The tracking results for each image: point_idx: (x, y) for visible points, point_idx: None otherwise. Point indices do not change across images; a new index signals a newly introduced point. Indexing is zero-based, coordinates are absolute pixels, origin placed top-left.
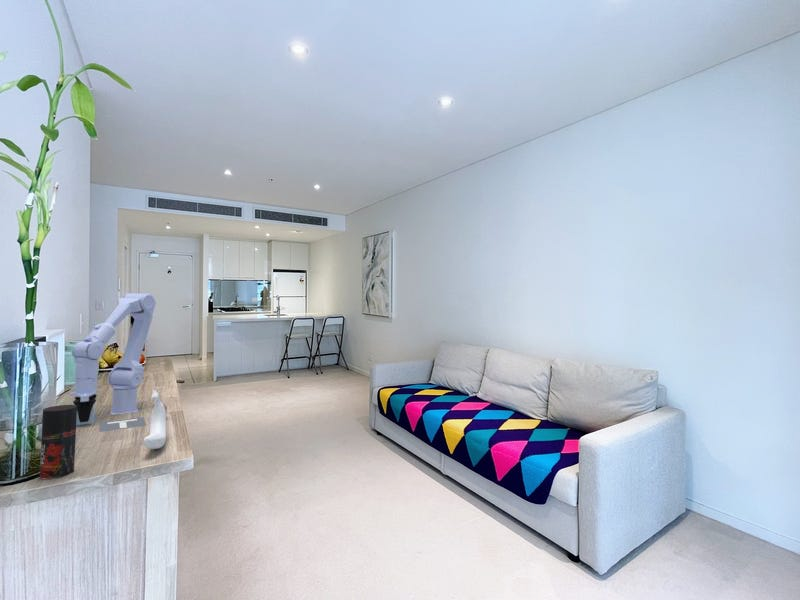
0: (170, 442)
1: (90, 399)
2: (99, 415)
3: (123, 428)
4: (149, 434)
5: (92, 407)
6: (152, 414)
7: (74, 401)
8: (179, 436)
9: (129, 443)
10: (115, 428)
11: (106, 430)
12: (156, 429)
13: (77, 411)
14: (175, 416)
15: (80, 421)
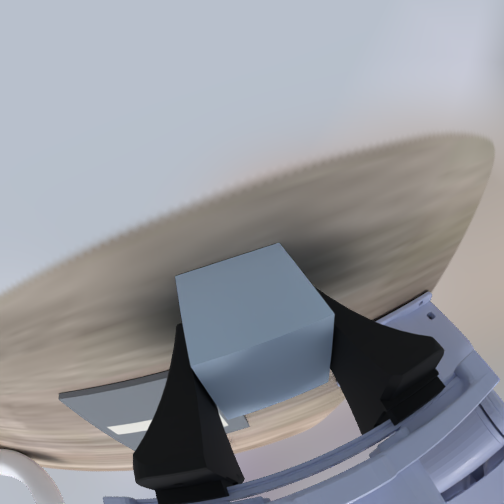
0: (37, 461)
1: (357, 408)
2: (385, 286)
3: (104, 431)
4: (11, 466)
5: (290, 393)
6: (35, 502)
7: (143, 481)
8: (70, 468)
9: (11, 433)
10: (104, 420)
11: (77, 410)
12: (17, 478)
13: (197, 374)
14: (239, 451)
15: (176, 331)
